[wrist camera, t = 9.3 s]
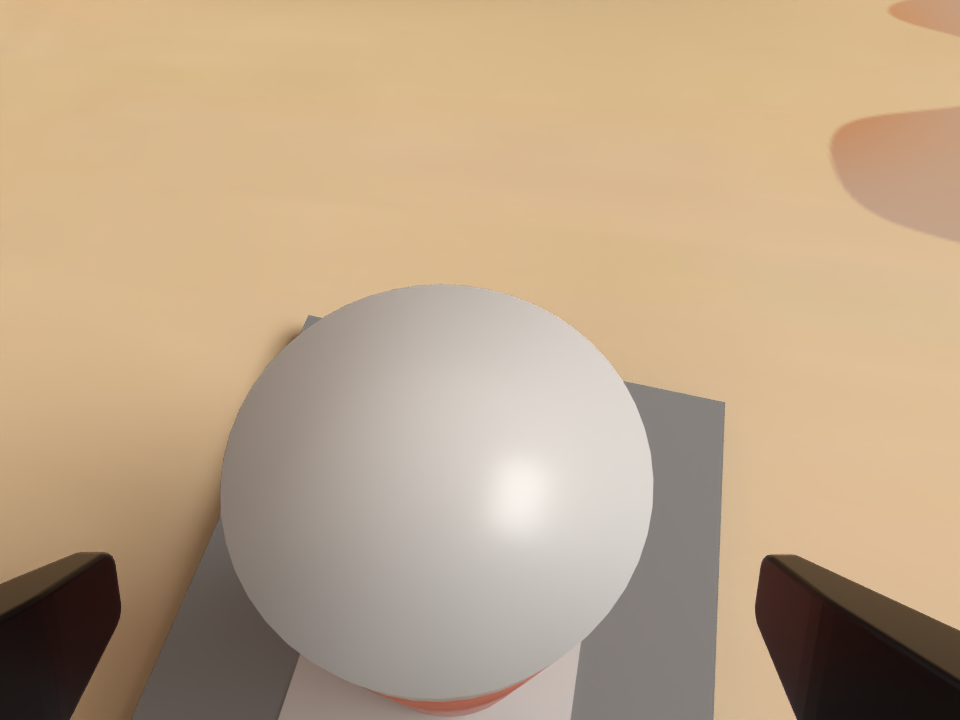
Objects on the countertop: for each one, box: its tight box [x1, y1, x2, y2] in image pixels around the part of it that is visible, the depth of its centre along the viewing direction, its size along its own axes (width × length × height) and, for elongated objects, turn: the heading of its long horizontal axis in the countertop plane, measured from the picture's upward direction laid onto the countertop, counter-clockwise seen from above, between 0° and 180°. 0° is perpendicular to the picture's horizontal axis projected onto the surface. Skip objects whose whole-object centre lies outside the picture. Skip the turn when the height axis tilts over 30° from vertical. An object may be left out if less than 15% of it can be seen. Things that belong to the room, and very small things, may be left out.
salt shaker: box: [220, 284, 653, 717], centre depth 12 cm, size 5×5×11 cm
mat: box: [131, 315, 725, 720], centre depth 17 cm, size 16×14×1 cm
